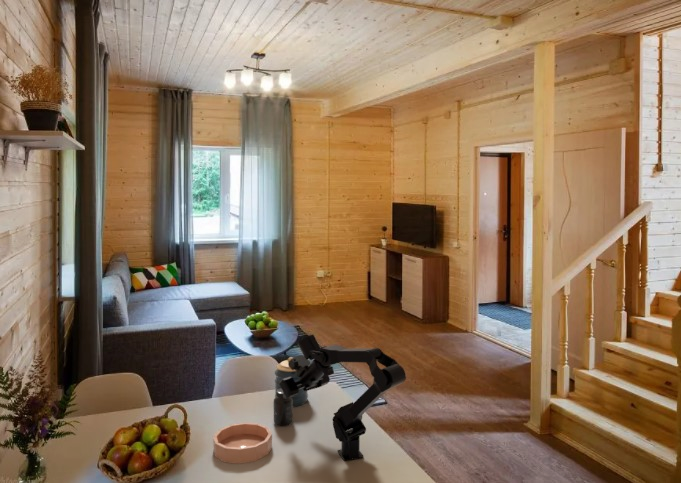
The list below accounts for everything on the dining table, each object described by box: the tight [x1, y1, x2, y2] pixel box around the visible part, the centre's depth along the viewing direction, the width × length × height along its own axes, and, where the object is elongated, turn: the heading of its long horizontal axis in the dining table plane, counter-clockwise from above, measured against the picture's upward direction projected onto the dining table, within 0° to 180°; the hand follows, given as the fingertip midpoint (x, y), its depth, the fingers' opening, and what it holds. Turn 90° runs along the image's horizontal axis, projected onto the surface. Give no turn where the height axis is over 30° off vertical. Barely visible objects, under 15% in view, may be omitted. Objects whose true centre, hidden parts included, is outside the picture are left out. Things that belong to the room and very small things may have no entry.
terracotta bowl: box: [212, 422, 273, 464], centre depth 172 cm, size 18×18×4 cm
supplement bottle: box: [273, 388, 294, 427], centre depth 191 cm, size 7×7×12 cm
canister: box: [274, 356, 309, 407], centre depth 210 cm, size 13×13×18 cm
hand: (294, 393), depth 186 cm, fingers open, 9 cm apart
